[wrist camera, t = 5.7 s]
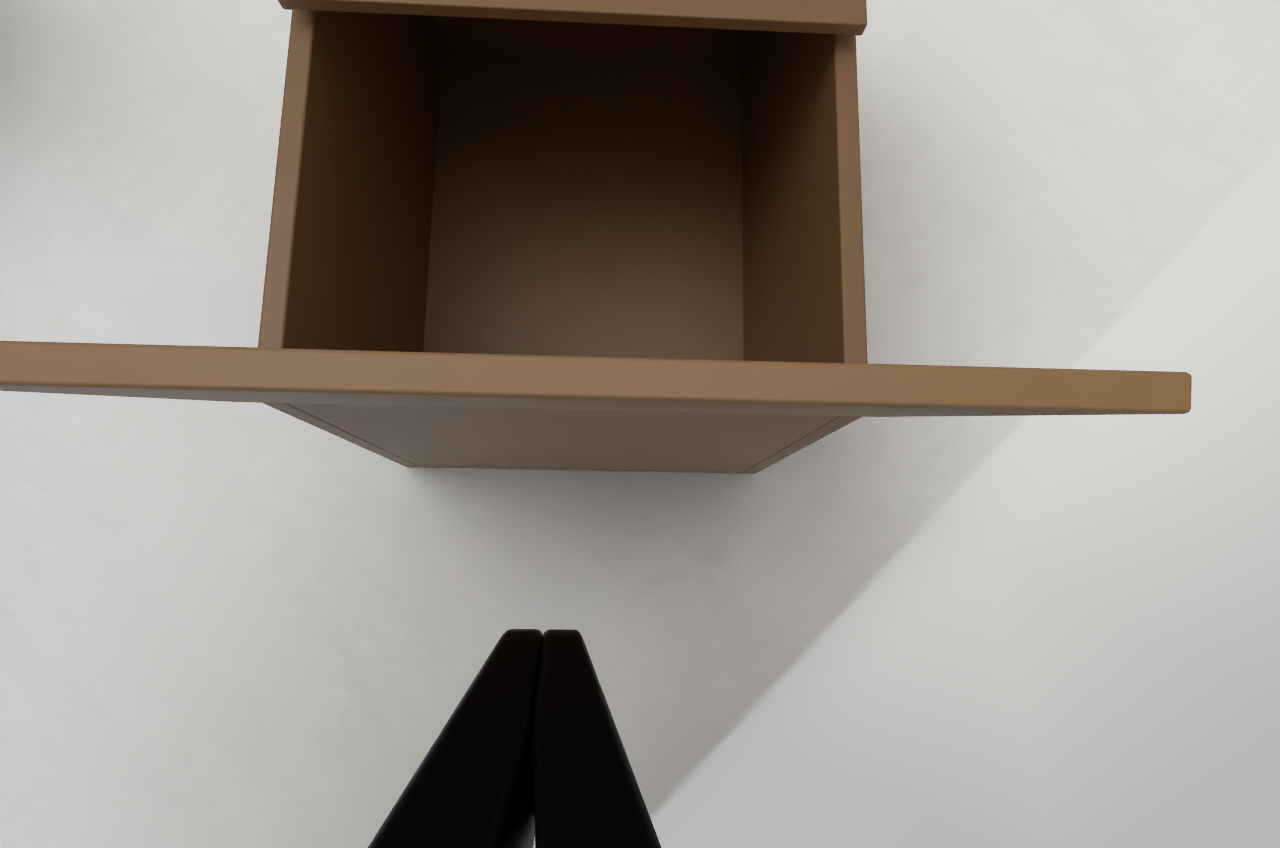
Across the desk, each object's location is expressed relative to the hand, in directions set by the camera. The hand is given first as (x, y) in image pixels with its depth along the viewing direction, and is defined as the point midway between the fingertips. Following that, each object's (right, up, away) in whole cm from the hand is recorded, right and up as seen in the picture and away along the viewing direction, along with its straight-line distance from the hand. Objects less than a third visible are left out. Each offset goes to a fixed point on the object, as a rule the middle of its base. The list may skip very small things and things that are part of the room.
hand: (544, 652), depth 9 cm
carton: (0, +8, +14) cm, 16 cm away
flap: (0, +3, 0) cm, 3 cm away
